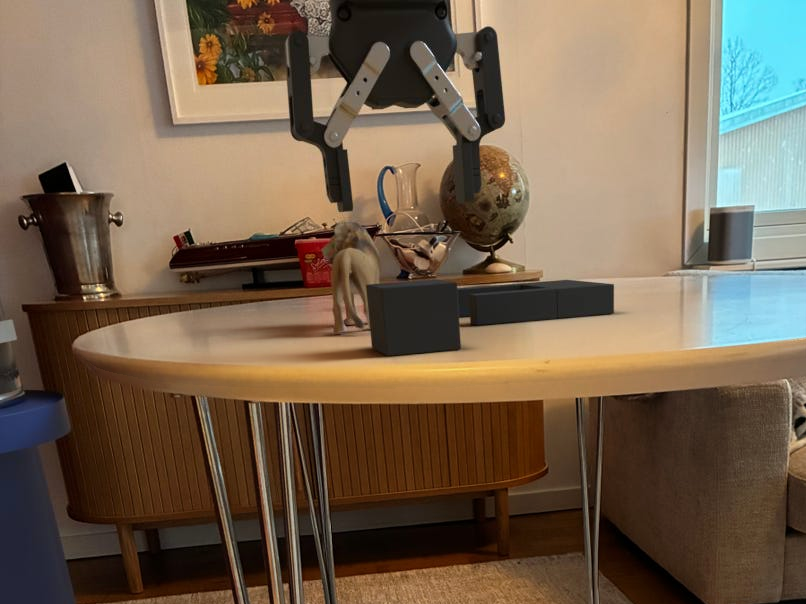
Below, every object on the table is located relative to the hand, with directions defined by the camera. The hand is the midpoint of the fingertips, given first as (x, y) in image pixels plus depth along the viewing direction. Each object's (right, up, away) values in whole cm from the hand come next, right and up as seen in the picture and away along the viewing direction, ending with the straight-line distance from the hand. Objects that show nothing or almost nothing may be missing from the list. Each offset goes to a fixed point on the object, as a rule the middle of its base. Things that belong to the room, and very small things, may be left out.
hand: (406, 207), depth 66 cm
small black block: (0, -9, +4) cm, 9 cm away
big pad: (+9, 0, +23) cm, 25 cm away
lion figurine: (-6, -1, +22) cm, 23 cm away
